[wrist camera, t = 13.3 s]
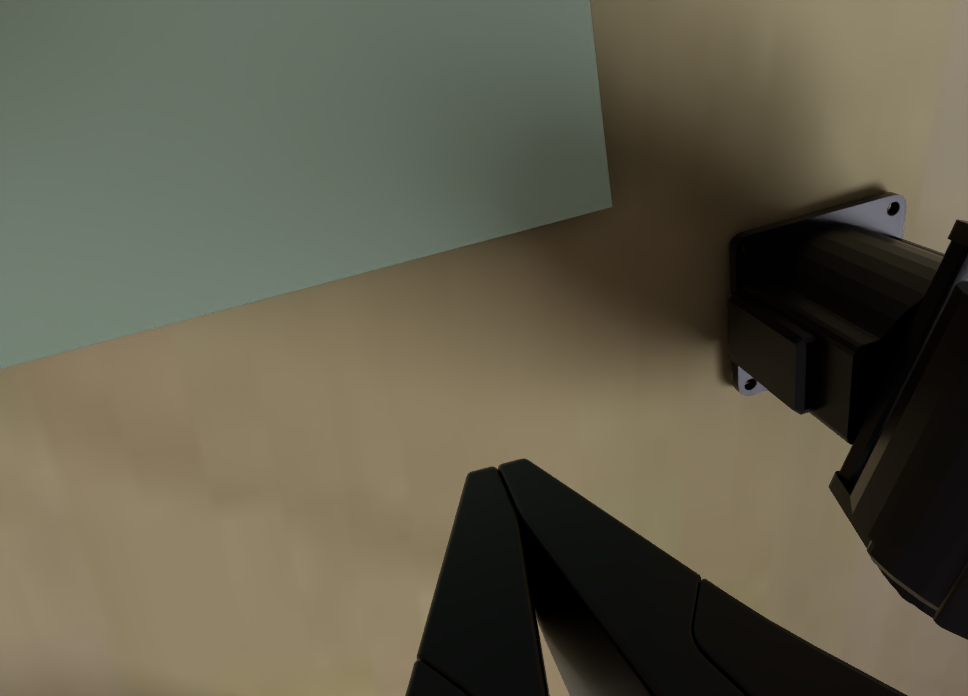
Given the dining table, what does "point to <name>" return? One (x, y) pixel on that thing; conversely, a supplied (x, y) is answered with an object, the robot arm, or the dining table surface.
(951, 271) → the robot arm
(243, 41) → the board
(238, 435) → the dining table surface
